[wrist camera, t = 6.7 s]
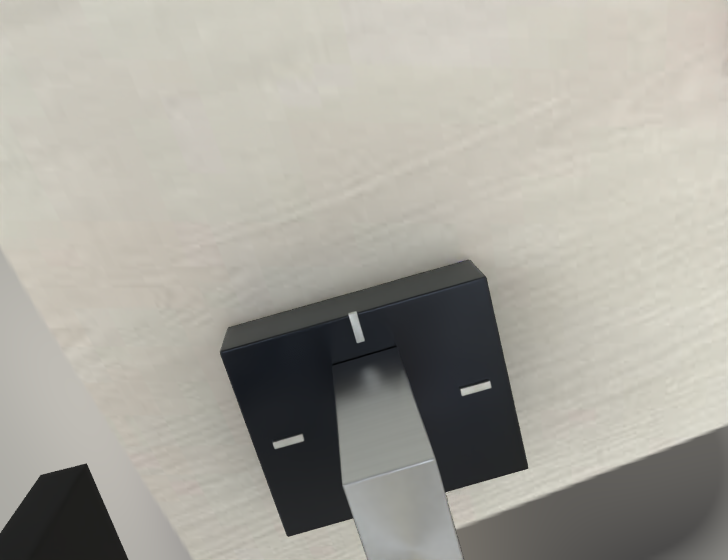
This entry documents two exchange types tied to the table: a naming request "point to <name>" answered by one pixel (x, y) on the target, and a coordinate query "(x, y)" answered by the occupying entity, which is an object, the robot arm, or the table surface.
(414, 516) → the knob
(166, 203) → the table surface
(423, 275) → the panel
